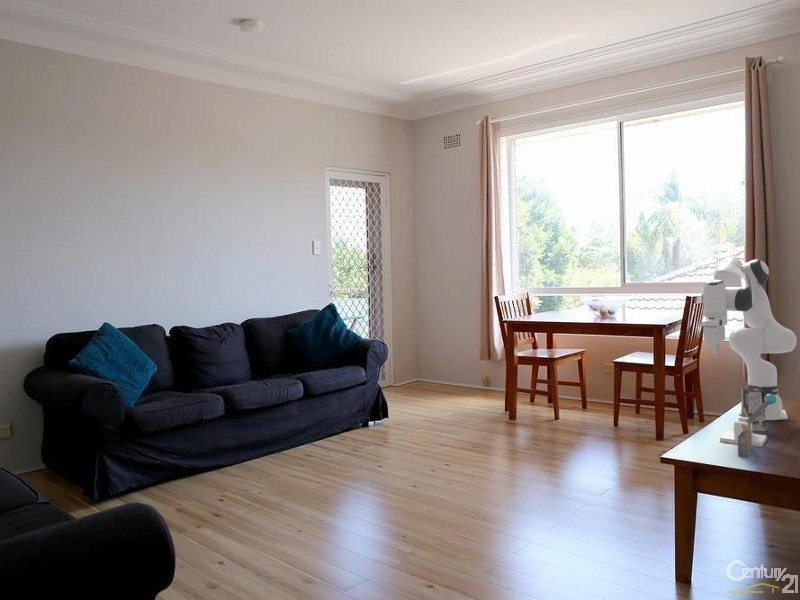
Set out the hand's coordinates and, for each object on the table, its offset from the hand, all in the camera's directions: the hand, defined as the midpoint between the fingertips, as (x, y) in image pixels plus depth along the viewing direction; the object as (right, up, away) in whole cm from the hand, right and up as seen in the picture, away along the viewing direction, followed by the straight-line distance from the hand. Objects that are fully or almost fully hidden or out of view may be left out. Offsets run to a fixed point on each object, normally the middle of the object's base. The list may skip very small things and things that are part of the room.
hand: (715, 354), depth 262 cm
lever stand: (+3, -32, -15) cm, 35 cm away
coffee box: (+16, -31, +1) cm, 35 cm away
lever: (+2, -28, -15) cm, 32 cm away
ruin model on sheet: (-4, -34, -30) cm, 45 cm away
